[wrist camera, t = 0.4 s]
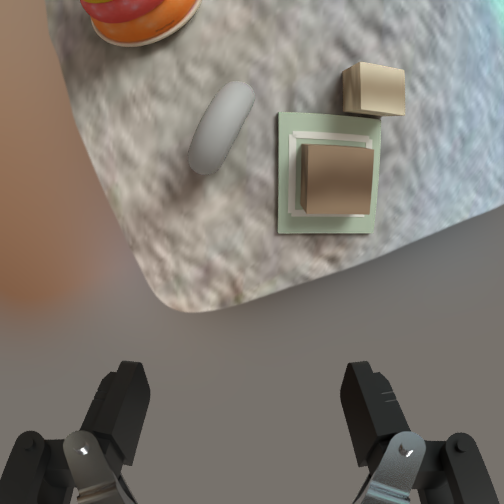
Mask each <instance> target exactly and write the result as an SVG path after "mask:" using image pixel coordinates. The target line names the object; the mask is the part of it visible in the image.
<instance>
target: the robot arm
mask: <svg viewBox="0 0 504 504" xmlns="http://www.w3.org/2000/svg"><path fill="white" fill-rule="evenodd" d="M340 398H341V404H342V407H343V411H344V414H345V418H346V422H347V425H348V429H349V432H350V436H351V440H352V444H353V447H354V451H355V455H356V459H357V463H358V466H359V467H363V466H368V468H369V473H368V475H367V477H366V479H365V481H364V482H363V484H362V486H361V488H360V490H359V491H358V493H357V495H356V496H355V498H354V500H353V502H352V503H351V504H410V499H409V498H408V497H409V493H410V491H411V489H417V490H418V493H419V497H420V502H421V504H499V501H498V498H497V495H496V493H495V490H494V487H493V484H492V482H491V479H490V476H489V474H488V471H487V469H486V466H485V464H484V461H483V459H482V456H481V454H480V452H479V449H478V447H477V445H476V442H475V441H474V439H473V438H472V437H471V436H469V435H468V434H466V433H455V434H453V435H451V436H450V437H449V438H448V440H447V441H425V440H423V439H422V437H421V436H419V435H418V434H416V433H414V432H411V430H410V428H409V426H408V424H407V422H406V419H405V417H404V415H403V412H402V410H401V408H400V405H399V403H398V401H397V400H396V396H395V394H394V393H393V390H392V387H391V385H390V383H389V381H388V380H387V379H386V378H385V377H384V376H383V375H382V374H381V373H380V372H378V373H373V371H372V369H371V367H370V365H369V363H368V362H367V361H363V362H353V363H348V365H347V368H346V372H345V375H344V379H343V382H342V386H341V390H340ZM149 401H150V388H149V384H148V381H147V378H146V375H145V372H144V368H143V365H142V363H140V362H132V361H122V362H121V364H120V366H119V368H118V370H117V372H110V373H109V374H108V375H107V376H106V377H105V378H104V379H102V381H101V384H100V385H99V388H98V392H96V394H95V396H94V400H93V401H92V403H91V406H90V408H89V410H88V412H87V415H86V417H85V419H84V422H83V424H82V426H81V428H80V430H79V431H75V432H72V433H71V434H69V435H68V436H67V437H66V439H62V440H44V438H43V437H42V436H41V435H40V434H39V433H37V432H35V431H26V432H24V433H22V434H21V435H20V436H19V437H18V438H17V440H16V442H15V445H14V446H13V449H12V452H11V454H10V456H9V459H8V461H7V464H6V466H5V469H4V471H3V474H2V477H1V480H0V504H70V501H71V497H72V493H73V488H74V487H77V489H78V492H79V496H78V497H77V502H78V504H138V502H137V501H136V499H135V497H134V495H133V494H132V492H131V490H130V488H129V486H128V485H127V483H126V481H125V479H124V477H123V475H122V473H121V469H122V465H123V464H124V465H129V466H132V463H133V460H134V456H135V452H136V448H137V444H138V441H139V437H140V433H141V430H142V426H143V423H144V419H145V416H146V412H147V408H148V405H149Z"/></svg>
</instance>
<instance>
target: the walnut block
mask: <svg viewBox="0 0 504 504" xmlns="http://www.w3.org/2000/svg"><path fill="white" fill-rule="evenodd" d="M373 164H374V149H369V148H364V147H355V146H341V145H324V144H302V147H301V196H300V205H301V206H302V208H303V209H304V211H305V212H306V214H363V215H370V205H371V193H372V180H373Z"/></svg>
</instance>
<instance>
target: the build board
mask: <svg viewBox="0 0 504 504" xmlns="http://www.w3.org/2000/svg"><path fill="white" fill-rule="evenodd" d="M380 142H381V120H379V119H371V118H362V117H353V116H342V115H330V114H315V113H293V112H278V227H277V232H278V234H288V233H373V231H374V222H375V213H376V203H377V192H378V179H379V164H380ZM302 144H324V145H341V146H355V147H364V148H369V149H374V164H373V180H372V193H371V205H370V215H363V214H306V212H305V211H304V209H303V208H302V206H301V205H300V196H301V147H302Z"/></svg>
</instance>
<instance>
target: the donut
mask: <svg viewBox="0 0 504 504" xmlns="http://www.w3.org/2000/svg"><path fill="white" fill-rule="evenodd" d="M254 101H255V94H254V91H253V89H252V88H251V87H250V86H249V85H248V84H246V83H244V82H241V81H232V82H229V83H227V84H225V85H224V86H223V87H222V88H221V89H220V90H219V91H218V92H217V94H216V95H215V97H214V98H213V100H212V101H211V103H210V105H209V106H208V108H207V109H206V111H205V113H204V115H203V117H202V119H201V121H200V123H199V125H198V127H197V129H196V132H195V134H194V137H193V139H192V142H191V145H190V148H189V151H188V162H189V165H190V167H191V168H192V170H193V171H195V172H196V173H198V174H202V175H209V174H212V173H215V172H216V171H217V170H219V168H220V167H221V165H222V164H223V162H224V160H225V158H226V156H227V154H228V152H229V150H230V148H231V146H232V144H233V142H234V140H235V138H236V137H237V135H238V133H239V131H240V129H241V127H242V125H243V123H244V121H245V119H246V117H247V116H248V114H249V112H250V110H251V108H252V106H253V104H254Z"/></svg>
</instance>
